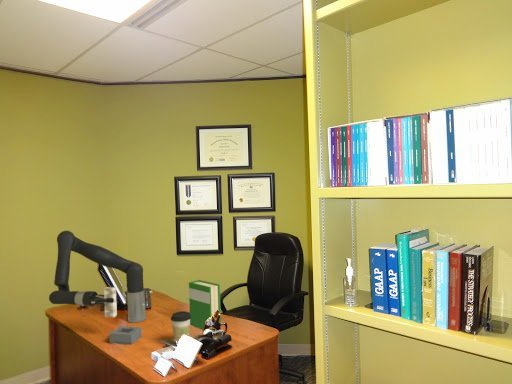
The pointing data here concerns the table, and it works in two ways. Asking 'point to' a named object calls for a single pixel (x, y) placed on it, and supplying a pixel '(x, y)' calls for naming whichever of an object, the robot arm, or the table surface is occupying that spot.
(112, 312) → the marbled white block
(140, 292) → the robot arm
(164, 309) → the table surface
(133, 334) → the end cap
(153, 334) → the table surface
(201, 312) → the hardback book
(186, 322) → the coffee cup
